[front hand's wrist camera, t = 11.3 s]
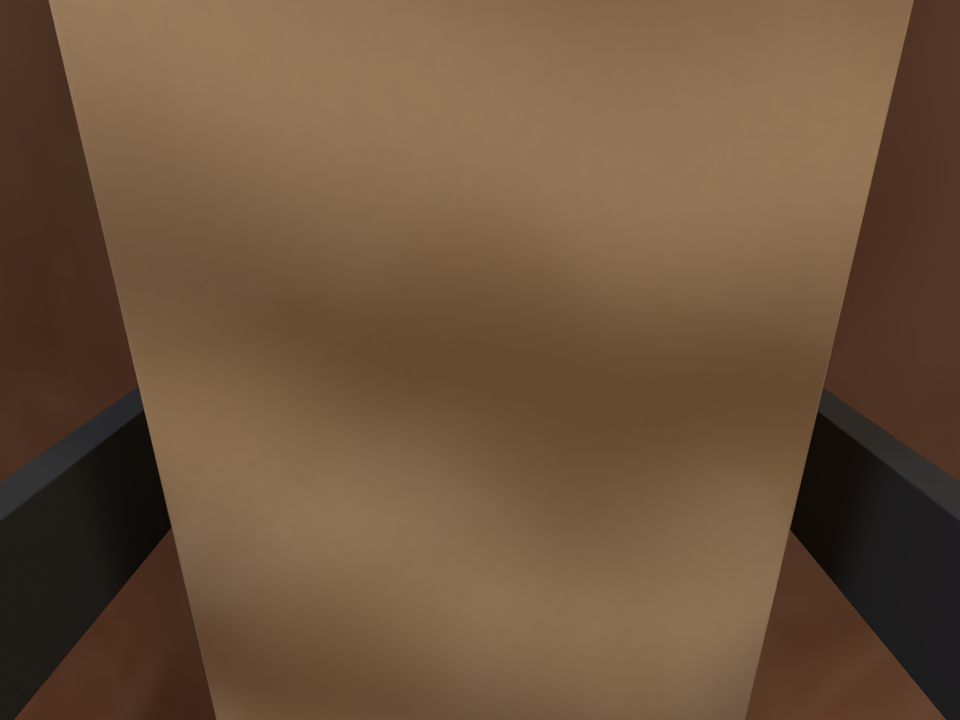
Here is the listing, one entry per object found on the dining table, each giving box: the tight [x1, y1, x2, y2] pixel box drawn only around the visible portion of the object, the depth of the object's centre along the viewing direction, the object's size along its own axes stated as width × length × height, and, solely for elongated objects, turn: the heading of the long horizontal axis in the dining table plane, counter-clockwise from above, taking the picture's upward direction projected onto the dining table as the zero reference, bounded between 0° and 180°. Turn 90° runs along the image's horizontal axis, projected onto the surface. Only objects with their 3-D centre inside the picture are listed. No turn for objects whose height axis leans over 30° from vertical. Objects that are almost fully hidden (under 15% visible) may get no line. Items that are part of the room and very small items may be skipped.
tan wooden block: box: [49, 0, 914, 720], centre depth 12 cm, size 16×10×9 cm, turn 0°
